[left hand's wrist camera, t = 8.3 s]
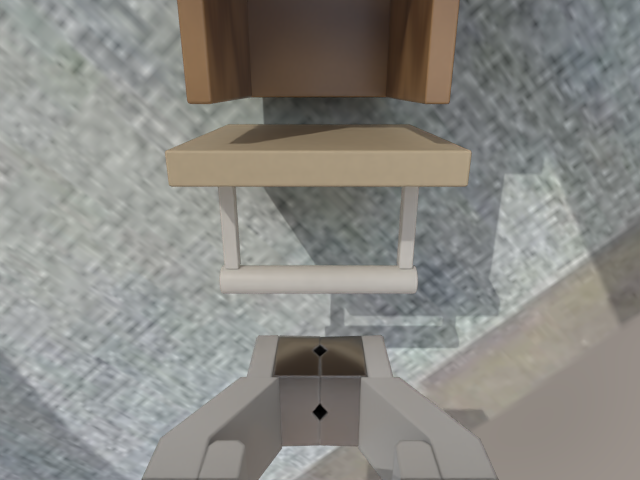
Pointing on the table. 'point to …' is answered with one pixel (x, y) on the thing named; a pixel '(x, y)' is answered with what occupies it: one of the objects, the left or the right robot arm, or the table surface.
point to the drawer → (318, 139)
